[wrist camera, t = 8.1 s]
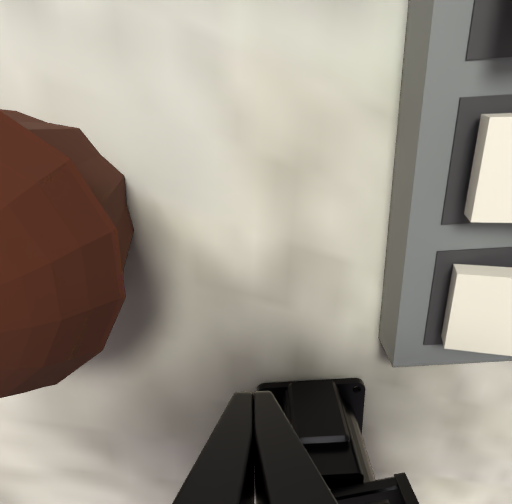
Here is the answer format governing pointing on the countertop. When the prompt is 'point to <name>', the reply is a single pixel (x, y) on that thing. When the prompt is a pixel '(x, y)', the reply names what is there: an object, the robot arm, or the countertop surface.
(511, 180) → the rocker
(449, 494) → the countertop surface
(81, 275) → the muffin
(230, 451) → the robot arm
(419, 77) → the switch unit
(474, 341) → the rocker
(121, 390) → the countertop surface
